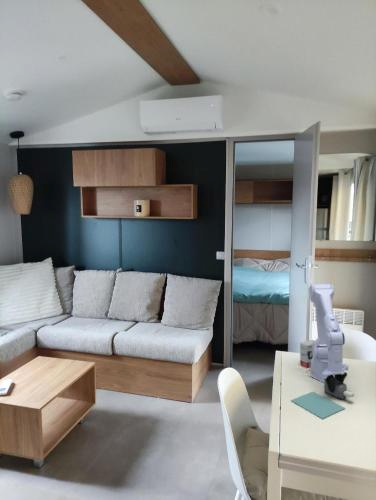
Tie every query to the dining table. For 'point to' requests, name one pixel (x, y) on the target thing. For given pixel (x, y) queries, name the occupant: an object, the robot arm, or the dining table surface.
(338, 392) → the cylinder
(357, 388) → the dining table surface
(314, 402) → the charging mat
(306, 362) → the ink box
